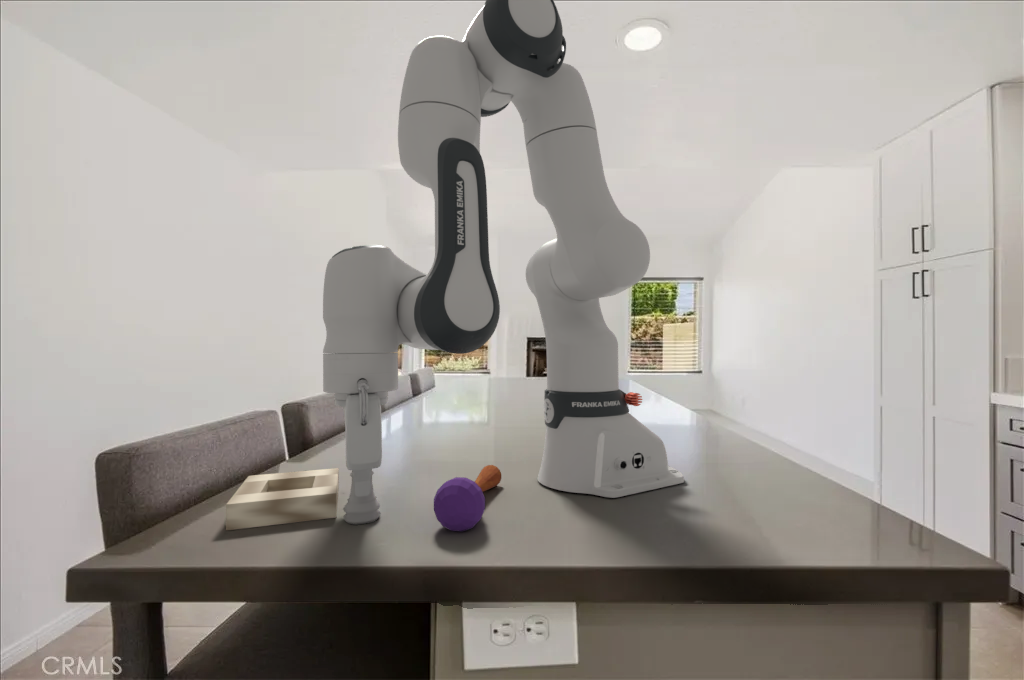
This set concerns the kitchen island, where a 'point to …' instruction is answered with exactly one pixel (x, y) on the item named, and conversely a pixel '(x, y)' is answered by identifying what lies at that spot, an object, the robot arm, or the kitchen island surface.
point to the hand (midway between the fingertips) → (362, 489)
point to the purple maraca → (464, 499)
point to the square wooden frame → (284, 499)
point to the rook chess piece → (361, 506)
